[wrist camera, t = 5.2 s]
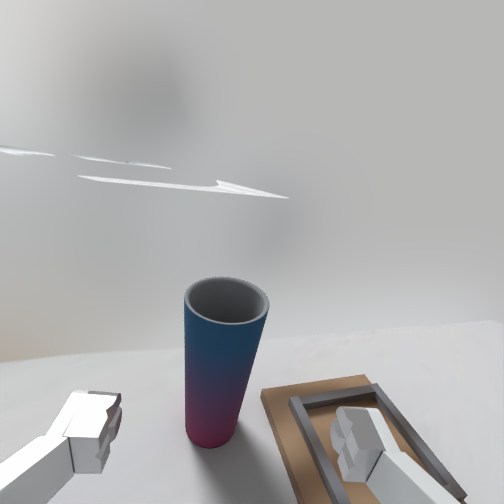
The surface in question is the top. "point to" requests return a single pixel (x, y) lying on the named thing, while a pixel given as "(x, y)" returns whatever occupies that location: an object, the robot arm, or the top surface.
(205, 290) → the cup
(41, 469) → the robot arm
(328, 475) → the board
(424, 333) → the top surface
